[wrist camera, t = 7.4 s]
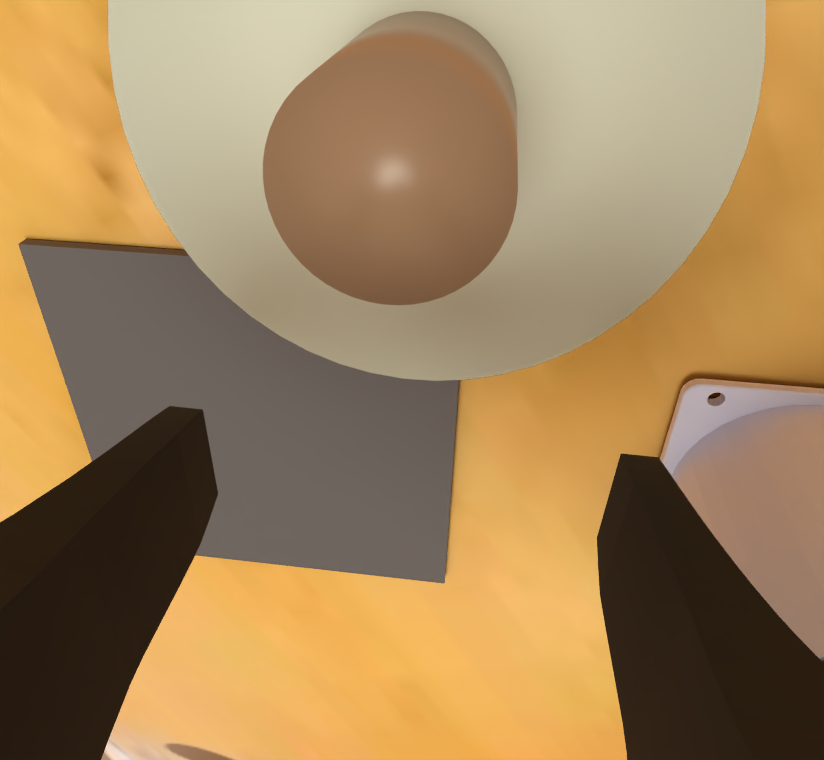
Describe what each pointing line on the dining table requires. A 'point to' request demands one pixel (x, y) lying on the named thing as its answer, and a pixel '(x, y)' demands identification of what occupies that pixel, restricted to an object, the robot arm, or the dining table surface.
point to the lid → (438, 162)
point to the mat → (254, 413)
